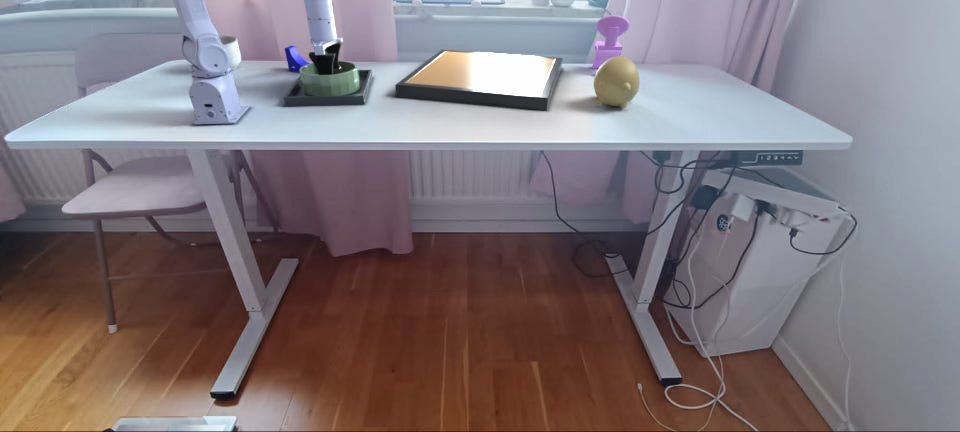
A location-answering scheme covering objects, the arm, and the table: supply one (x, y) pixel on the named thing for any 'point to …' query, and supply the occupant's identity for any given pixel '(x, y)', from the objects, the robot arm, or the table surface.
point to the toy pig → (616, 82)
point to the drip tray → (302, 99)
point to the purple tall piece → (609, 38)
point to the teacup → (231, 49)
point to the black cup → (336, 69)
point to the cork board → (484, 79)
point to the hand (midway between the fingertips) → (330, 78)
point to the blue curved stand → (294, 59)
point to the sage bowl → (330, 80)
